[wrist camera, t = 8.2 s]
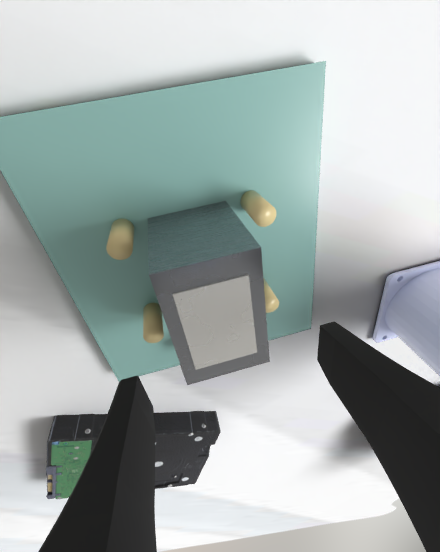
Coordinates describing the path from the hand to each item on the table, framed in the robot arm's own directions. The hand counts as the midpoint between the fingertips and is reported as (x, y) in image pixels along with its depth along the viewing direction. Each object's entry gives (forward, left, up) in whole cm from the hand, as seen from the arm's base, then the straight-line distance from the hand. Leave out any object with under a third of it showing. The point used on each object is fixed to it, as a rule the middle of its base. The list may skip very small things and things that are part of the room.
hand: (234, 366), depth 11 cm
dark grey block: (0, 0, -8) cm, 8 cm away
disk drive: (+10, +20, -10) cm, 24 cm away
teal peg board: (0, 0, -9) cm, 9 cm away
